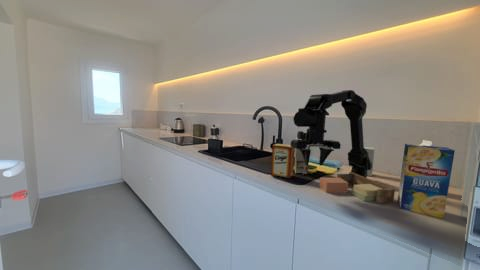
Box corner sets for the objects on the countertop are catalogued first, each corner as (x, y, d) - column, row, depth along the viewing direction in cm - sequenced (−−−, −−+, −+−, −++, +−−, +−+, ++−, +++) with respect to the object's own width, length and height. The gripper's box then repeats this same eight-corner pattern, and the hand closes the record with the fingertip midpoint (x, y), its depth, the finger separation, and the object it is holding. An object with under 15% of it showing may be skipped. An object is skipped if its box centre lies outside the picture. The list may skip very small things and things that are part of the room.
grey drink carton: (307, 175, 101) (310, 144, 99) (295, 173, 102) (297, 143, 101) (305, 170, 110) (307, 142, 108) (294, 169, 111) (295, 141, 109)
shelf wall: (351, 182, 92) (352, 172, 92) (393, 202, 72) (394, 189, 71) (339, 182, 91) (339, 172, 90) (378, 203, 71) (379, 190, 70)
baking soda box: (270, 175, 99) (272, 144, 97) (275, 172, 104) (277, 142, 102) (289, 179, 94) (291, 146, 92) (293, 175, 99) (295, 144, 97)
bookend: (345, 181, 94) (346, 171, 93) (352, 184, 89) (354, 174, 89) (330, 181, 92) (331, 171, 92) (337, 185, 88) (338, 174, 87)
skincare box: (371, 174, 107) (375, 147, 105) (372, 176, 102) (375, 149, 100) (354, 171, 112) (357, 145, 110) (353, 173, 106) (356, 147, 105)
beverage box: (397, 201, 73) (404, 143, 71) (437, 210, 67) (447, 147, 65) (399, 208, 67) (408, 146, 65) (444, 218, 61) (455, 150, 59)
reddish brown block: (339, 187, 85) (339, 177, 85) (347, 193, 79) (348, 182, 79) (319, 187, 85) (320, 177, 84) (326, 193, 79) (326, 182, 78)
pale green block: (369, 192, 80) (370, 183, 80) (384, 200, 74) (385, 190, 73) (351, 193, 78) (352, 184, 78) (364, 201, 72) (365, 191, 71)
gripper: (325, 125, 86) (322, 160, 87) (286, 124, 82) (283, 160, 84) (343, 127, 75) (339, 167, 77) (298, 126, 71) (295, 168, 73)
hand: (313, 165), depth 78 cm, fingers open, 6 cm apart
